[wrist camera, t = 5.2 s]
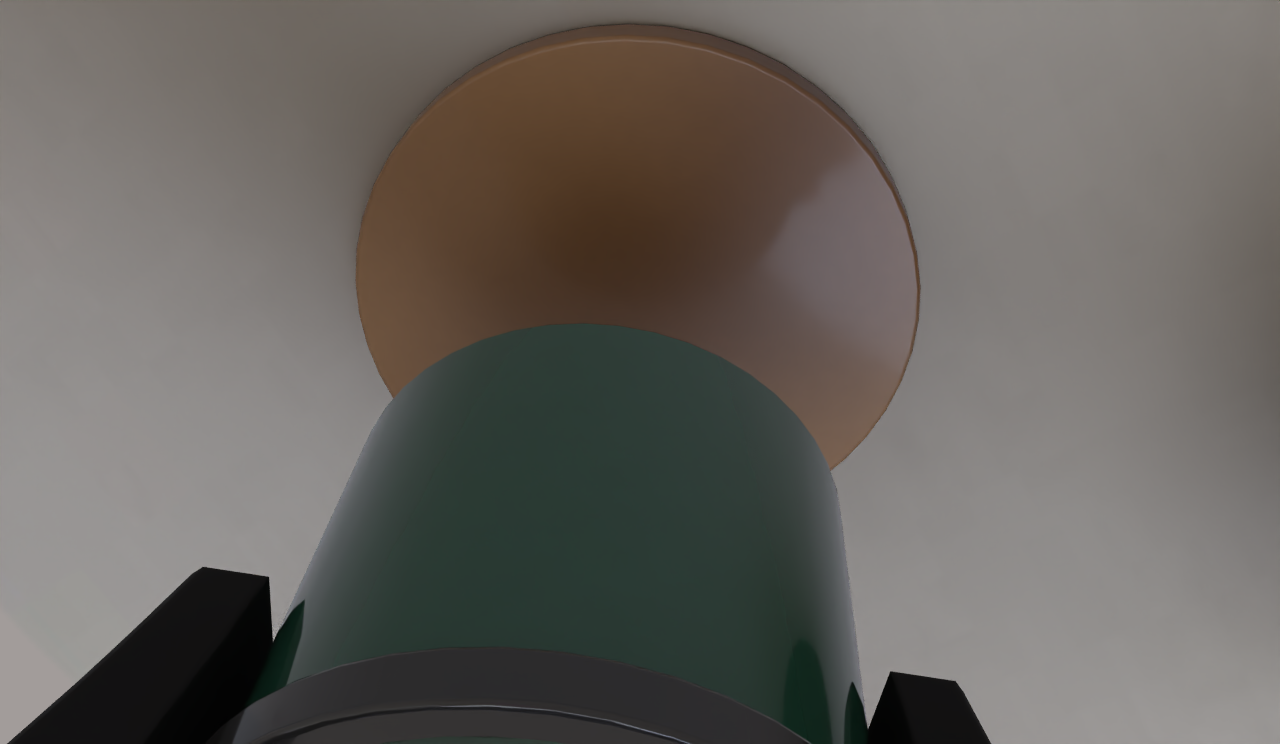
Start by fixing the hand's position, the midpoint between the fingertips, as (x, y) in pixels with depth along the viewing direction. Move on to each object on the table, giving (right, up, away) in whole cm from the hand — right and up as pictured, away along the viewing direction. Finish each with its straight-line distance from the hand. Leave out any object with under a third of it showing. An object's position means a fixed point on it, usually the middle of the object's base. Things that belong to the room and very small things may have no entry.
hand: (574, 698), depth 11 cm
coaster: (+1, +4, +7) cm, 8 cm away
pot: (0, +1, +2) cm, 2 cm away
